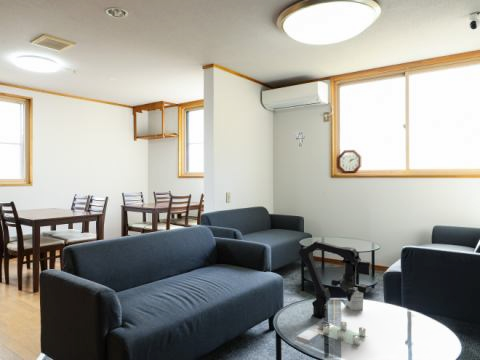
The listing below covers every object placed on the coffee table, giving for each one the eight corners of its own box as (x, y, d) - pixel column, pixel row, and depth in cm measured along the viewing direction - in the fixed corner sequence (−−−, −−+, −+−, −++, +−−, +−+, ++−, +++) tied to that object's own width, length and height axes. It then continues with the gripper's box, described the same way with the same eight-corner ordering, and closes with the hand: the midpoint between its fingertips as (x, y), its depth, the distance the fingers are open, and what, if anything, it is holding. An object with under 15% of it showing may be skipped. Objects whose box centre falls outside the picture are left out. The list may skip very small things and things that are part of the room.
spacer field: (321, 334, 166) (322, 326, 166) (333, 325, 176) (333, 318, 176) (357, 346, 155) (358, 339, 155) (367, 336, 165) (368, 329, 165)
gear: (316, 329, 171) (316, 323, 171) (320, 325, 176) (320, 319, 176) (327, 332, 168) (327, 326, 168) (331, 328, 173) (331, 322, 173)
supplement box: (345, 305, 205) (346, 284, 205) (357, 305, 206) (358, 284, 205) (350, 310, 198) (351, 288, 197) (363, 310, 198) (363, 288, 198)
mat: (313, 332, 169) (313, 331, 169) (325, 324, 179) (325, 322, 179) (357, 348, 155) (357, 346, 155) (367, 337, 165) (367, 336, 165)
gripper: (326, 271, 179) (326, 301, 180) (362, 279, 167) (361, 310, 168) (335, 267, 188) (335, 295, 188) (369, 274, 176) (369, 304, 176)
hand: (349, 301), depth 180 cm, fingers closed
